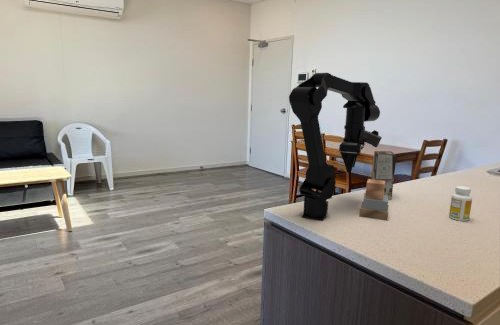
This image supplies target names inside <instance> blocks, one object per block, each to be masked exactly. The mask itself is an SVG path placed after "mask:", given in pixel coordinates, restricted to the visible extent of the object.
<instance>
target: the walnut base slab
mask: <svg viewBox="0 0 500 325" xmlns="http://www.w3.org/2000/svg"><path fill="white" fill-rule="evenodd" d="M359 217H361V218H367V219H375V220H381V221H382V220H383V221H388V218H389V207H388V208H387V211H379V210H371V209H364V208H363V200H362V201H361V204H360V207H359Z"/></svg>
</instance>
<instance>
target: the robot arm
mask: <svg viewBox="0 0 500 325" xmlns="http://www.w3.org/2000/svg"><path fill="white" fill-rule="evenodd" d="M328 91H329V92H334V93H337V94H340V95H341V97H342V98H343V99H345V100H347V102H346V103H344V104H343V105H342V108H344V109H346V110H345V111H346V113H345V125H344V126H343V127H344V128H343V129H344V138H343V140H342V142H341V143H340V144H339V146H338V149H339V151H338V152H339V154H340V156H341V158H342V160H343V163H344V166H345V170H346V172H347V173H348V174H350V173H352V170H353V168H355V165H356V162H357V159H358V156H359V155H360V154H361V152H362V150H363V149H364V148H365V145H366V143H367V144H369V145H371V146H372V147H374V148H378V146H379V144H380V142H381V140H382V139H383V137H382V136H381V135H379V131H378V130H375V129H373V131H368V130H366V126H365V122H374V121H377V120H378V119H379V118H380V115H381V111H380V107H378V105H376V100H375V98H374V95H373V92H372V88H371V86H370V84H369V83H368V82H363V81H360V82H359V81H355V82H354V81H349V80H347V79H344V78H341V77H338V76H336V75H334V74H331V73H329V72H316V73H313V74H312V75H311V76H310V78H308V79H306V80H304V81H303V82H301V83H299V84H298V85H297V86H296V87H294V88H293V89H292V90H291V91H290V94H289V96H288V102H289V105H290V108H291V110H292V113H293V114H294V116H296V117H297V119H298V120H299V121H300V126H301V132H302V137H303V141H304V142H303V143H304V147H305V152H306V157H307V162H308V166H307V169H306V170H305V178H304V180H303V181H302V183H301V185H300V186H299V188H298V190H299V194H300V195H302V196H304V197H303V198H304V199H303V213H302V214H301V217H302V218H305V219H312V220H319V221H324V220H325V218H326V217H327V216H328V211H329V201H328V200H330V199H332V198H333V195H334V191H335V187H336V178H337V176H336V173H335V166H334V165H332V164H329V163H327V161H326V156H325V151H324V150H325V149H324V144H323V139H322V133H321V127H320V122H319V115H320V112H321V110H322V108H323V104H322V102H323V100H324V99H326V97H327V96H328Z"/></svg>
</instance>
